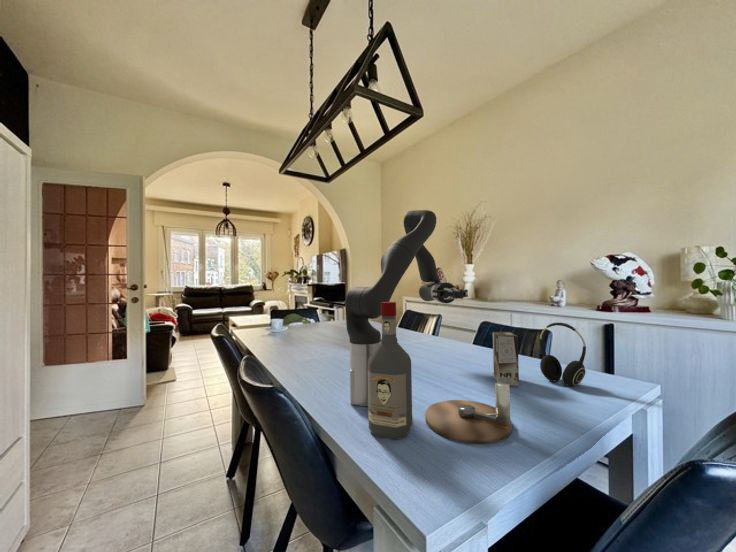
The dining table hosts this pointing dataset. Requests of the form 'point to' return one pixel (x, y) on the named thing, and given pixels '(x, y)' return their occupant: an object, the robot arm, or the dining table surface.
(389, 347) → the liquor
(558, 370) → the headphones
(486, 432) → the round wooden board
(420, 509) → the dining table surface
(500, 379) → the coffee box
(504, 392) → the silver bent piece
